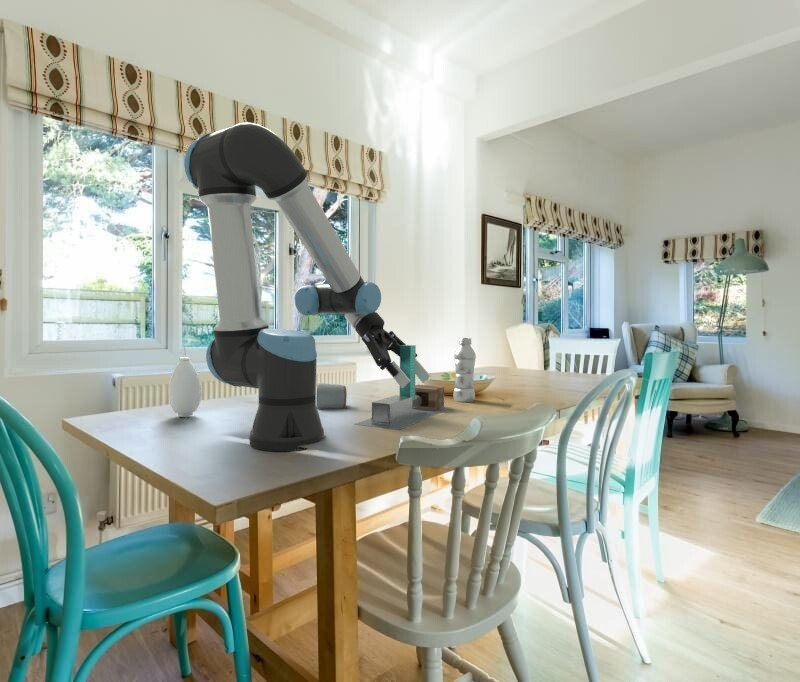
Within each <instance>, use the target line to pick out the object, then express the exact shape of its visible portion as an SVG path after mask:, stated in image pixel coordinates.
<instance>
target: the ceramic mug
mask: <svg viewBox="0 0 800 682" xmlns="http://www.w3.org/2000/svg"><path fill="white" fill-rule="evenodd" d="M347 395H348V394H347V387H346V385H343V384H339V383H335V384H334V383H325V382H324V383H323V382H318V383H316V407H317V410H320V409H324V410H325V409H344V408H346V407H347V406H346V405H347V398H348V397H347Z"/></svg>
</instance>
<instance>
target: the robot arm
mask: <svg viewBox="0 0 800 682" xmlns="http://www.w3.org/2000/svg"><path fill="white" fill-rule="evenodd" d="M183 164H184V173H185V175H186V177H187V179H188V182H190V183H191V184H192V187H193V188H194V189H195V190H197V192H198V200H199V201H200V202H201V203H203V205H205V207H206V208H207V213H208V221H209V224H208V225H209V233H210V239H211V242H210V243H211V250H212V259H213V260H212V261H213V269H214V276H215V278H214V279H215V286H216V295H217V306H218V313H219V321H218V322H217V323H216V325H215V326H214V327H213V335H214V337H213V338H212V339H211V340H210V344H209V345H208V346H207V349H206V353H205V354H206V355H205V359H206V365H207V367H208V370H209V372H210V373H211V375H212V376H213V377H214V378H215V379H217V380H218V381H220V382H221V383H224V384H227V385H229V386H232V387H239V388H240V387H244V388H252V389H258V408H257V410H256V414H255V416H254V420H253V424H252V429H251V430H250V432H249V445H250V447H252V448H253V449H254V448H255V449H256V450H257V449H258V450H261V451H267V452H268V451H270V452H293V451H302V450H306V449H307V450H308V449H309V447H305V446H309V445H314V444H316V443H318V442H321V441H322V440H324V439H325V429H324V427H323V424H322V421H321V417H320V413H319V411H318V410H319V409H317V407H316V403H317V347H316V346H317V345H316V339H315V338H314V336H313V335H312V334H310V333H308V332H304V331H301V330H300V331H299V330H294V329H285V328H270V327H269V323H268V322H267V321H265V319H263V318H262V317H261V309H260V306H261V305H260V300H259V299H260V298H259V297H260V296H259V287H258V277H257V268H256V257H255V247H254V245H255V244H254V237H253V235H254V234H253V225H252V217H251V216H252V215H251V206H252V204H254V202H255V201H256V200H257V191H256V190H257V189H256V186H257V187H258V188H259V189H260V190H262V192H263V194H264V196H266V198H267V199H268V200H270V201H274V202H275V203H276V204H277V206H278V207H279V209H280V211H281V212H282V214H283V215H284V217H285V219H286V220H287V221H288V223H289V225H290V226H291V227H292V229H293V231H294V232H295V233H296V235H297V237H298V239H299V240H300V242H301V243H302V245H303V246H304V248H305V249H306V251H307V253H308V254H309V256H310V258H311V259H312V261H313V262H314V263H315V265H316V267H317V268H318V270H319V271H320V273H321V274H322V276H323V278H324V280H323V282H322V283H317V284H308V285H303V286H300V287H299V288H298V289H297V290H296V292H295V294H294V304H295V307H296V309H297V312H299V313H300V315H303V316H316V315H324V314H326V315H340V314H341V315H342V316H343V318H345V319H346V321H347V323H348V325H350V326H351V327H352V328H353V329H354V330H355V332H356V333H357V334H358V335H359V337H360V338H361V340H362V342H363V343H364V344H365V345H366V348H367V350H368V351H369V353H370V355H371V356H372V359H373V360H374V362H375V364H376V365H377V367H379V369H380V370H382V371H384V370H385V369H386V371H387V372H388V373H389V375H391V377H392V378H393V379H394V380H395V381H396V383H397V384H398V385H399V387H400V386H401V388H404V387H405V386H406V385H407V384H408V383H409V382H410V379H409V378H408V377H407V376H406V375H405V373H404V372H403V371H402V370H401V369H400V365H398V364H397V363H396V361H395V360H392V359H391V356H390V353H389V351H391V352H393V354H395V355H397V356H398V357H399V358H400V345H407V344H406V343H404V341H403V340H402V339H400V337H398V335H396V333H394V331H393V330H390V331H389V332H388V331H386V329H384V326H385V320H384V319H383V317H381V315H380V314H379V313H378V312H377V310H378V309H379V307H380V306H381V303H382V293H381V290H380V287H379V286H378V285H377V284H376V283H374V282H370V281H364V279H363V277H362V275H361V274H360V272H359V270H358V269H357V267H356V265H355V263H354V262H353V260H352V258H351V256H350V255H349V253H348V252H347V249H346V248H345V246H344V244H343V242H342V241H341V240H340V237H339V236H338V234H337V232H336V231H335V229H334V227H333V225H332V224H331V221H329V219H328V217H327V215H326V214H325V212H324V210H323V208H322V207H321V205H320V203H319V202H318V200H317V198H316V196H315V194H314V193H313V191H312V189H311V187H310V186H309V184H308V177H309V174H308V172H307V170H306V169H305V167H304V165H303V164H302V162H301V160H300V159H299V157H298V156H297V155H296V153H295V152H294V151H293V150H292V149H291V148H290V147H289V145H288V144H287V143H286V142H285V141H284V140H283V139H282V138H280V137H279V135H278V134H276V133H275V132H273V131H271V130H270V129H268V128H267V127H265V126H262V125H260V124H258V123H253V122H242V123H237V124H235V125H233V126H231V127H228V128H225V129H221V130H217V131H215V132H214V131H213V132H209V133H205V134H203V135H201V136H200V137H199V138H197V139H195V140H194V141H192V142H191V144H190V145H189V146H188V147H187V150H186V152H185V155H184V161H183ZM417 357H418V354H417V353H416V363H415V376H416V377H417V378H418V379H419V380H420V381H421V383H425V382H426V381H427V380H428V379H429V378H430V377H431V374H430V373H429V372H428V371H427V369H425V368H424V366H423V365H422V364H421V362H419V361H418V360H417ZM302 446H303V447H302Z"/></svg>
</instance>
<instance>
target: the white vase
mask: <svg viewBox="0 0 800 682" xmlns="http://www.w3.org/2000/svg"><path fill="white" fill-rule="evenodd" d="M168 399H169V400H168V401H169V405H170V407H171V409H172V411H173V412H174V414H177V416H178V417H181V418H183V417H185V418H190V416H193V414H194V413H195V412H197V410H198V409H199V406H200V404H201V400H202V384H201V379H200V375H199V374H198V371H197V369H196V366H195V365H194V363H193V362H192V361H191V358H190V357H189V356H188V357H187V356H186V347H183V357H181V356H180V357H179V360H178V362H177V363H176V365H175V366H174V369H173V370H172V373H171V376H170V379H169V383H168Z"/></svg>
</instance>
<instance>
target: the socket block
mask: <svg viewBox="0 0 800 682" xmlns="http://www.w3.org/2000/svg"><path fill="white" fill-rule="evenodd" d="M416 395H418V396H420V397H421V398H422V404H421V405H420V406H418V407H416V408H413V409H422V410H432V411H436V410H439V409H441V408H443V407H445V386H440V385H438V386H437V385H426V384H415V396H416Z"/></svg>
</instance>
